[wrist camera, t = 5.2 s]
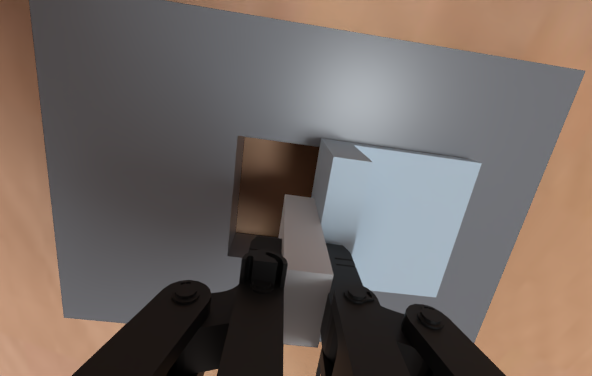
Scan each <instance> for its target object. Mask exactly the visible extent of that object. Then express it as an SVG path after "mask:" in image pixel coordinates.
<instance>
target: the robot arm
mask: <svg viewBox="0 0 592 376" xmlns="http://www.w3.org/2000/svg"><path fill="white" fill-rule="evenodd" d="M320 335H321V341H322V349H321V354H320V358H319V363H318V367H317V372H316V376H320V374H321V376H506V375H505V374H504V373H503V372H502V371H501V370H500V369H499V368H498V367H497V366H496V365H495V364H494V363H493V362H492V361H491V360H490V359H489V358H488V357H487V356H486V355H485V354H484V353H483V352H482V351H481V350H480V349H479V348H478V347H477V346H476V345H475V344H474V343H473V342H472V341H471V340H470V339H469V338H468V337H467V336H466V335H465V334H464V333H463V332H462V331H461V330H460V329H459V328H458V327H457V326H456V325H455V324H454V323H453V322H452V321H451V320H450V319H449V318H448V317H447V316H446V315H444V314H443V313H442V312H440V311H439V310H437V309H435V308H433V307H431V306H428V305H424V304H413V305H409V306H408V308H407V309H406V311H405V314H402V313H399V312H396V311H393V310H390V309H387V308H385V307H382V306H381V305H380V303H379V301H378V298H377V297H376V295H375V294H374V293H373V292H372V291H371V290H369V289H368V288H366V287H364V286H363V284H362V282H361V279H360V276H359V274H358V271H357V269H356V268H355V263H354V261H353V258H352V256H351V253H350V252H349V251H348V250H347V249H346V248H345V247H344V246H343V245H336V244H328V243H326V242H325V238H324V234H323V230H322V226H321V223H320V219H319V215H318V211H317V207H316V203H315V199H314V198H310V197H302V196H295V195H287V194H285V197H284V204H283V210H282V217H281V224H280V231H279V237H278V238H272V237H263V236H257V237H256V238H254V239H253V240H252V241H251V243H250V248H249V252H248V253H246V254H245V255H244V256H243V258H242V261H241V270H240V279H239V284H238V285H237V286H236V287H234V288H233V289H230V290H227V291H223V292H216V293H211V291H210V289H209V287H208V286H207V285H206V284H204V283H201V282H199V281H193V280H183V281H178V282H175V283H172V284H170V285H168V286H167V287H165V288H164V289H163V290H161V291H160V292H159V293H158V294H157V295H156V296H155V297H154V298H153V299H152V300H151V301H150V302H149V303H148V304H147V305H146V306H145V307H144V308H143V309H141V310H140V311H139V312H138V313H137V314H136V315H135V316H134V317H133V318H132V319H131V320H130V321H129V322H128V323H127V324H126V325H125V326H124V327H122V328H121V329H120V330H119V331H118V332H117V333H116V334H115V335H114V336H113V337H112V338H111V339H110V340H109V341H108V342H107V343H106V344H105V345H103V346H102V347H101V348H100V349H99V350H98V351H97V352H96V353H95V354H94V355H93V356H92V357H91V358H90V359H89V360H88V361H87V362H86V363H85V364H83V365H82V366H81V367H80V368H79V369H78V370H77V371H76V372H75V373H74V374H73V375H72V376H203V375H204V372H205V371H209V370H214V369H218V373H217V376H283V344H286V345H296V346H307V347H317V348H318V344H319V339H320Z"/></svg>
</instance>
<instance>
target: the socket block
mask: <svg viewBox="0 0 592 376" xmlns="http://www.w3.org/2000/svg"><path fill="white" fill-rule="evenodd" d="M29 5H30V14H31V23H32V33H33V42H34V51H35V60H36V69H37V78H38V87H39V96H40V105H41V114H42V123H43V132H44V141H45V150H46V159H47V169H48V178H49V187H50V196H51V205H52V214H53V223H54V232H55V241H56V250H57V259H58V268H59V277H60V286H61V295H62V305H63V314H64V318H74V319H84V320H95V321H106V322H117V323H128V322H129V321H130V320H131V319H132V318H133V317H134V316H135V315H136V314H137V313H138V312H139V311H140V310H141V309H143V308H144V307H145V306H146V305H147V304H148V303H149V302H150V301H151V300H152V299H153V298H154V297H155V296H156V295H157V294H158V293H159V292H160V291H161V290H163V289H164V288H165V287H167V286H168V285H170V284H172V283H175V282H178V281H183V280H193V281H199V282H201V283H204V284H206V285H207V286H208V287H209V289H210V291H211V293H216V292H223V291H227V290H230V289H233V288H234V287H236V286H237V285H238V284H239V279H240V270H241V261H242V258H243V256H244V255H245V254H246V253H248V252H249V248H250V243H251V241H252V240H253V239H254V238H256V237H257V236H260V235H251V234H242V233H236V224H237V213H238V202H239V191H240V180H241V169H242V158H243V148H244V137H252V138H259V139H266V140H273V141H280V142H288V143H295V144H302V145H309V146H316V147H320V143H321V138H323V139H330V140H338V141H345V142H352V143H359V144H366V145H373V146H380V147H387V148H394V149H401V150H408V151H415V152H422V153H430V154H437V155H444V156H451V157H458V158H465V159H472V160H475V161H477V162H480V163H482V164H481V167H480V170H479V173H478V176H477V179H476V182H475V185H474V188H473V191H472V194H471V197H470V199H469V202H468V205H467V208H466V211H465V214H464V217H463V220H462V223H461V226H460V229H459V232H458V235H457V238H456V241H455V243H454V246H453V249H452V252H451V255H450V258H449V261H448V264H447V267H446V270H445V273H444V276H443V279H442V282H441V284H440V287H439V290H438V293H437V296H436V297H426V296H417V295H408V294H398V293H389V292H380V291H372V292H373V293H374V294H375V295H376V297H377V298H378V301H379V303H380V305H381V306H382V307H385V308H387V309H390V310H393V311H396V312H399V313H402V314H405V311H406V309H407V308H408V306H409V305H413V304H424V305H428V306H431V307H433V308H435V309H437V310H439V311H440V312H442V313H443V314H444V315H446V316H447V317H448V318H449V319H450V320H451V321H452V322H453V323H454V324H455V325H456V326H457V327H458V328H459V329H460V330H461V331H462V332H463V333H464V334H465V335H466V336H467V337H468V338H469V339H470V340H471V341H472V342H473V343H474V342H475V339H476V337H477V335H478V332H479V330H480V327H481V325H482V322H483V320H484V318H485V315H486V313H487V310H488V308H489V305H490V303H491V300H492V298H493V296H494V293H495V291H496V288H497V286H498V283H499V281H500V278H501V276H502V274H503V271H504V269H505V266H506V264H507V261H508V259H509V256H510V254H511V252H512V249H513V247H514V244H515V242H516V239H517V237H518V234H519V232H520V230H521V227H522V225H523V222H524V220H525V217H526V215H527V212H528V210H529V208H530V205H531V203H532V200H533V198H534V195H535V193H536V190H537V188H538V186H539V183H540V181H541V178H542V176H543V173H544V171H545V169H546V166H547V164H548V161H549V159H550V156H551V154H552V151H553V149H554V147H555V144H556V142H557V139H558V137H559V134H560V132H561V129H562V127H563V125H564V122H565V120H566V117H567V115H568V112H569V110H570V107H571V105H572V103H573V100H574V98H575V95H576V93H577V90H578V88H579V85H580V83H581V81H582V78H583V76H584V73H585V71H583V70H577V69H571V68H565V67H559V66H553V65H547V64H541V63H535V62H529V61H523V60H517V59H511V58H505V57H499V56H493V55H487V54H481V53H476V52H470V51H464V50H458V49H452V48H446V47H440V46H434V45H428V44H422V43H416V42H410V41H404V40H398V39H392V38H386V37H380V36H374V35H368V34H362V33H356V32H350V31H344V30H338V29H332V28H326V27H320V26H314V25H308V24H302V23H296V22H290V21H284V20H278V19H273V18H267V17H261V16H255V15H249V14H243V13H237V12H231V11H225V10H219V9H213V8H207V7H201V6H195V5H189V4H183V3H177V2H171V1H165V0H29ZM263 237H268V236H263ZM272 238H277V237H272ZM319 341H320V342H322V341H321V335H320V339H319Z"/></svg>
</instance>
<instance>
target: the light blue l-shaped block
mask: <svg viewBox="0 0 592 376" xmlns="http://www.w3.org/2000/svg"><path fill="white" fill-rule="evenodd" d="M481 164H482V163H480V162H477V161H475V160H472V159H465V158H458V157H451V156H444V155H437V154H430V153H422V152H415V151H408V150H401V149H394V148H387V147H380V146H373V145H366V144H359V143H352V142H345V141H338V140H330V139H323V138H321V143H320V148H319V154H318V160H317V166H316V172H315V178H314V184H313V190H312V196H311V198H314V199H315V203H316V207H317V211H318V215H319V219H320V223H321V226H322V230H323V234H324V238H325V242H326V243H328V244H336V245H343V246H344V247H345V248H346V249H347V250H348V251H349V252H350V253H351V256H352V258H353V261H354V263H355V268H356V269H357V271H358V274H359V276H360V279H361V282H362V284H363V286H364V287H366V288H368V289H369V290H371V291H380V292H389V293H398V294H408V295H417V296H426V297H436V296H437V293H438V290H439V287H440V284H441V282H442V279H443V276H444V273H445V270H446V267H447V264H448V261H449V258H450V255H451V252H452V249H453V246H454V243H455V241H456V238H457V235H458V232H459V229H460V226H461V223H462V220H463V217H464V214H465V211H466V208H467V205H468V202H469V199H470V197H471V194H472V191H473V188H474V185H475V182H476V179H477V176H478V173H479V170H480V167H481Z"/></svg>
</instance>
